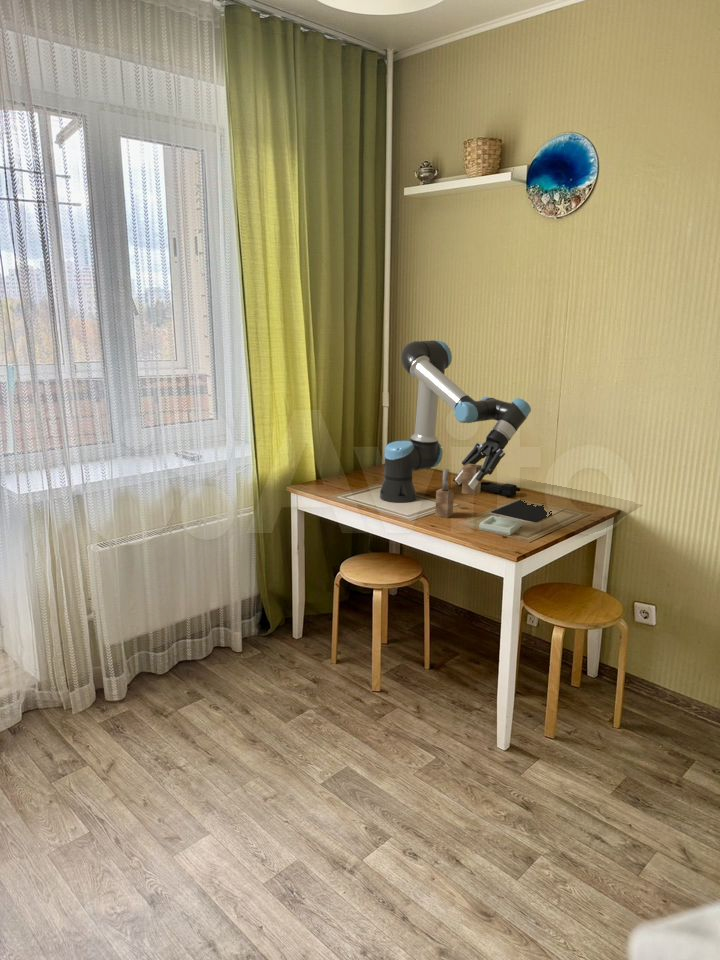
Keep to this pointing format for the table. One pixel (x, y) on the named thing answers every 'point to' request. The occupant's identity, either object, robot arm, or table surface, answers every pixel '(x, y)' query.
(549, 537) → the table surface
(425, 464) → the robot arm
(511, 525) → the tray
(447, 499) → the block
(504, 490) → the toy
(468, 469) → the block
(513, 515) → the tablet
